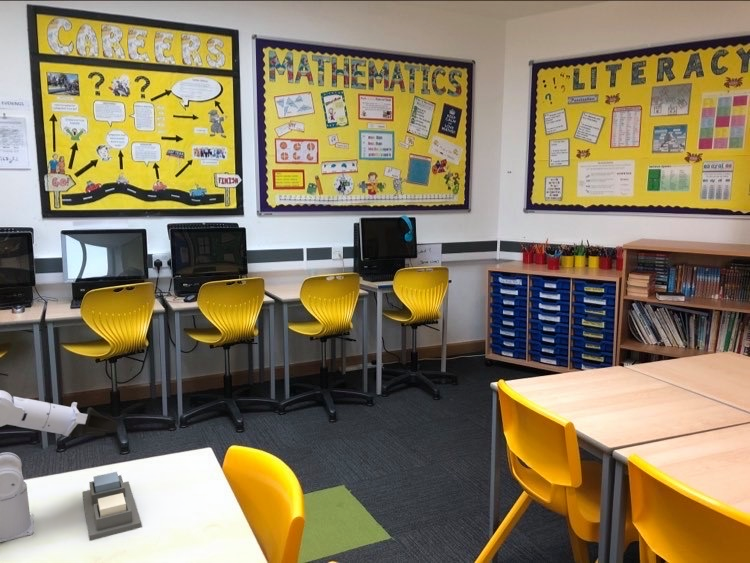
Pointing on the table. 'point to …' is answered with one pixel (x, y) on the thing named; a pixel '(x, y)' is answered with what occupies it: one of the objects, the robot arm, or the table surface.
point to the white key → (111, 505)
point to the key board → (111, 522)
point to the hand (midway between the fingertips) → (111, 428)
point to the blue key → (106, 482)
